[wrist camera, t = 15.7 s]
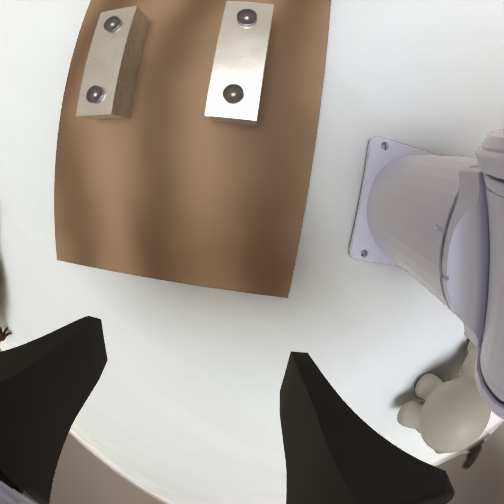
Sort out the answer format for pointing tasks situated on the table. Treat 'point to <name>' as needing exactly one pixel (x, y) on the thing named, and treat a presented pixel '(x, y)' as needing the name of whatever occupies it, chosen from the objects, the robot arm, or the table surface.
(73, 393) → the robot arm
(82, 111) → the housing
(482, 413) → the round bodied animal figurine
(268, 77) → the base board
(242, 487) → the table surface
